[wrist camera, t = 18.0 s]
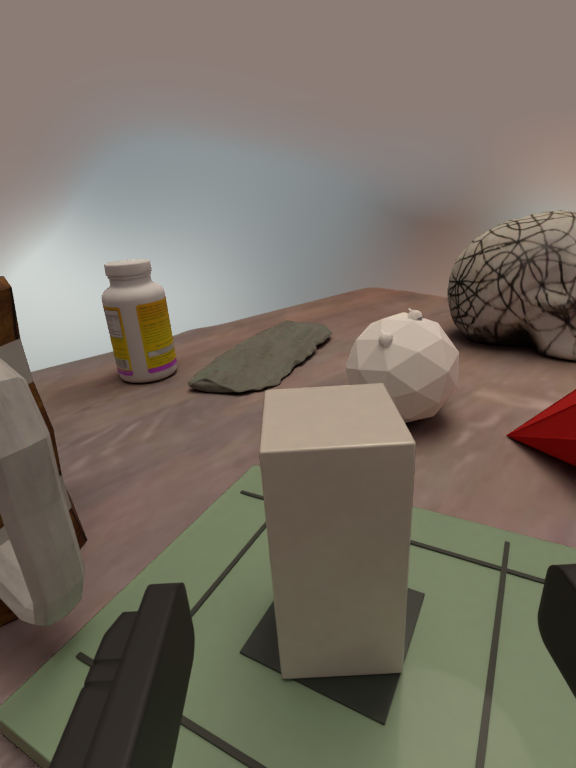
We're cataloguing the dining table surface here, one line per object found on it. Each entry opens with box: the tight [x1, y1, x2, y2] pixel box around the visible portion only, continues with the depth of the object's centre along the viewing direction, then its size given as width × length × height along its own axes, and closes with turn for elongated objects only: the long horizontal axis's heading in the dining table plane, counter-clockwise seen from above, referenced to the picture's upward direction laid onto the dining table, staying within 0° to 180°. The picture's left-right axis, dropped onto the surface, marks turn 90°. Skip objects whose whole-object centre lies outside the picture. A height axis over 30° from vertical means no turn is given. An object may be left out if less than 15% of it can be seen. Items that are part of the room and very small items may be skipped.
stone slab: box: [188, 321, 332, 393], centre depth 54 cm, size 22×3×10 cm
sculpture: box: [448, 210, 576, 360], centre depth 52 cm, size 15×20×15 cm
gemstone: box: [506, 389, 576, 467], centre depth 30 cm, size 9×9×10 cm
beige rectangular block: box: [259, 383, 416, 679], centre depth 17 cm, size 5×5×10 cm
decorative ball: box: [346, 308, 459, 423], centre depth 37 cm, size 9×10×12 cm
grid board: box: [0, 465, 576, 768], centre depth 19 cm, size 20×18×1 cm
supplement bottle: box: [102, 259, 177, 383], centre depth 50 cm, size 7×7×13 cm
